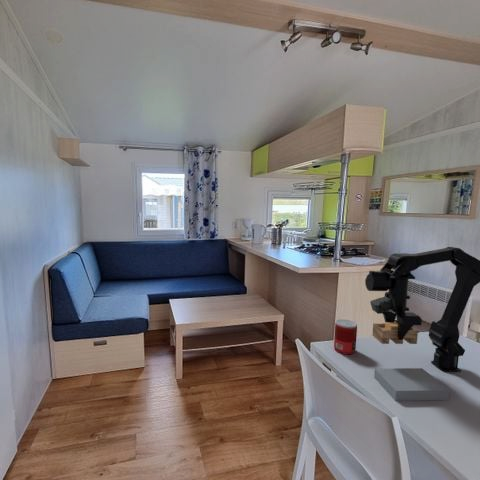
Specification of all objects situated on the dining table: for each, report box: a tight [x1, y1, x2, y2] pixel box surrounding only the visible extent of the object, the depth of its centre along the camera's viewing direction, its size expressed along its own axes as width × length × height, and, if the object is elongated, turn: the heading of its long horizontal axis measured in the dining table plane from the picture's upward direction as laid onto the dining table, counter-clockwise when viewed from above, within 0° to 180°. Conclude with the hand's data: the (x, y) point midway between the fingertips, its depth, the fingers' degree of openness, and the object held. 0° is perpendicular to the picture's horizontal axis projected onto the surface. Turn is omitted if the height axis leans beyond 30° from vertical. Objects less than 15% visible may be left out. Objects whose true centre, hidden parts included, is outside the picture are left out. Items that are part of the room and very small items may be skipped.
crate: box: [384, 321, 398, 330], centre depth 103 cm, size 5×4×2 cm
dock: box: [373, 367, 451, 402], centre depth 92 cm, size 16×12×3 cm
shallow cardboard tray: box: [371, 322, 419, 345], centre depth 103 cm, size 12×7×4 cm, turn 93°
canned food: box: [333, 318, 358, 355], centre depth 116 cm, size 8×8×11 cm
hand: (394, 335), depth 103 cm, fingers closed on shallow cardboard tray, 7 cm apart
